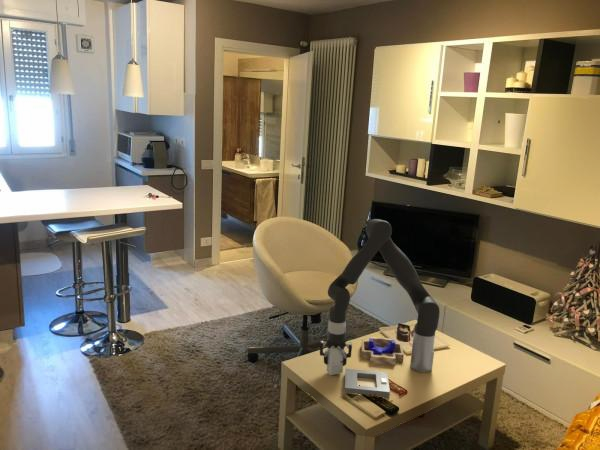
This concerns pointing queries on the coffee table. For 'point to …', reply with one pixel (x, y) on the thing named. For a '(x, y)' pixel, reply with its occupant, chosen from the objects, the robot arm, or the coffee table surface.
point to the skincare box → (334, 361)
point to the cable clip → (378, 350)
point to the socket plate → (367, 382)
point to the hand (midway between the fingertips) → (334, 364)
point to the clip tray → (382, 359)
